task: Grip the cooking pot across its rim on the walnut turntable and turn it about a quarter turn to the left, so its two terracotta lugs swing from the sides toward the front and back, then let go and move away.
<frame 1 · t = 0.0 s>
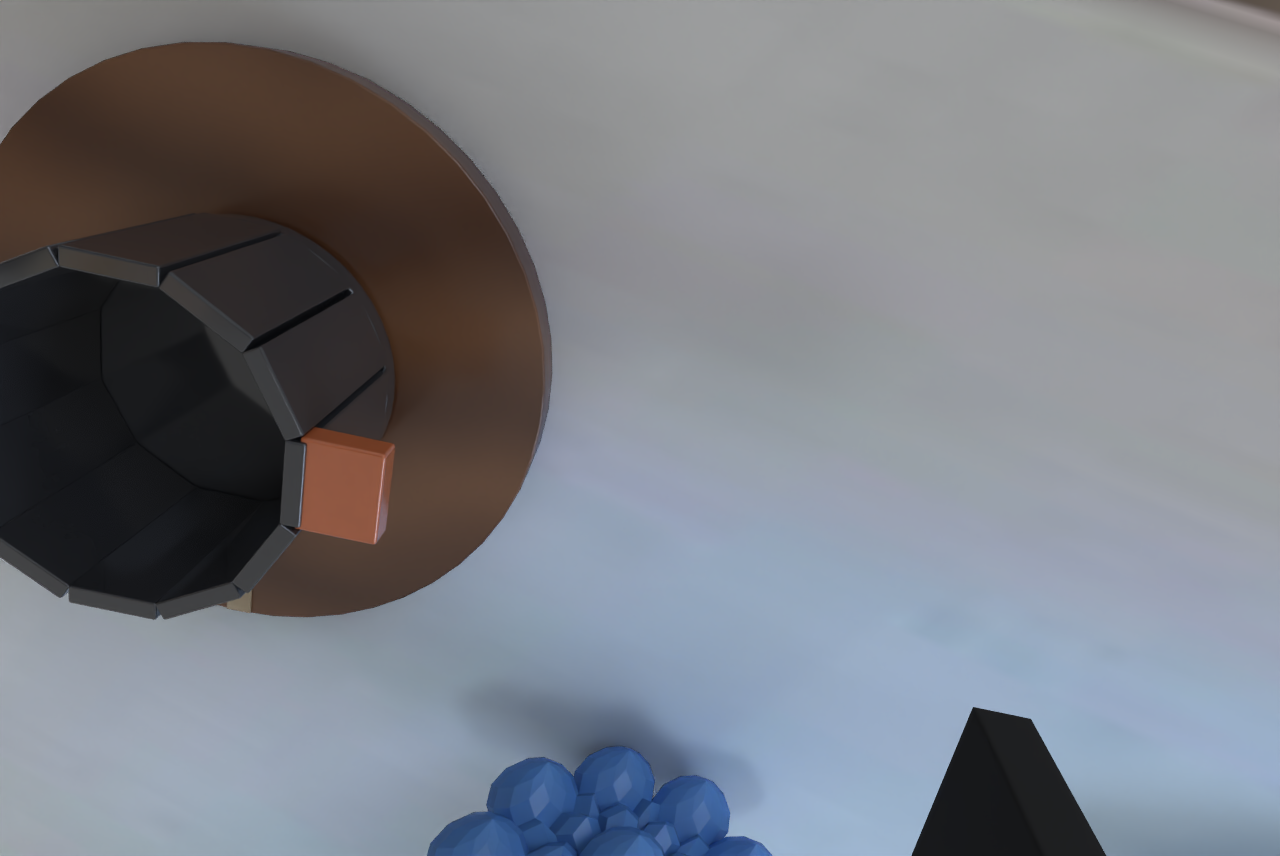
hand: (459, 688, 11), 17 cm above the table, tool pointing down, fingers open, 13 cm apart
turntable: (273, 350, 28), on the table
grapes: (617, 772, 34), on the table
cooking pot: (188, 400, 23), point 5 cm above the table, hinge at 0.0°
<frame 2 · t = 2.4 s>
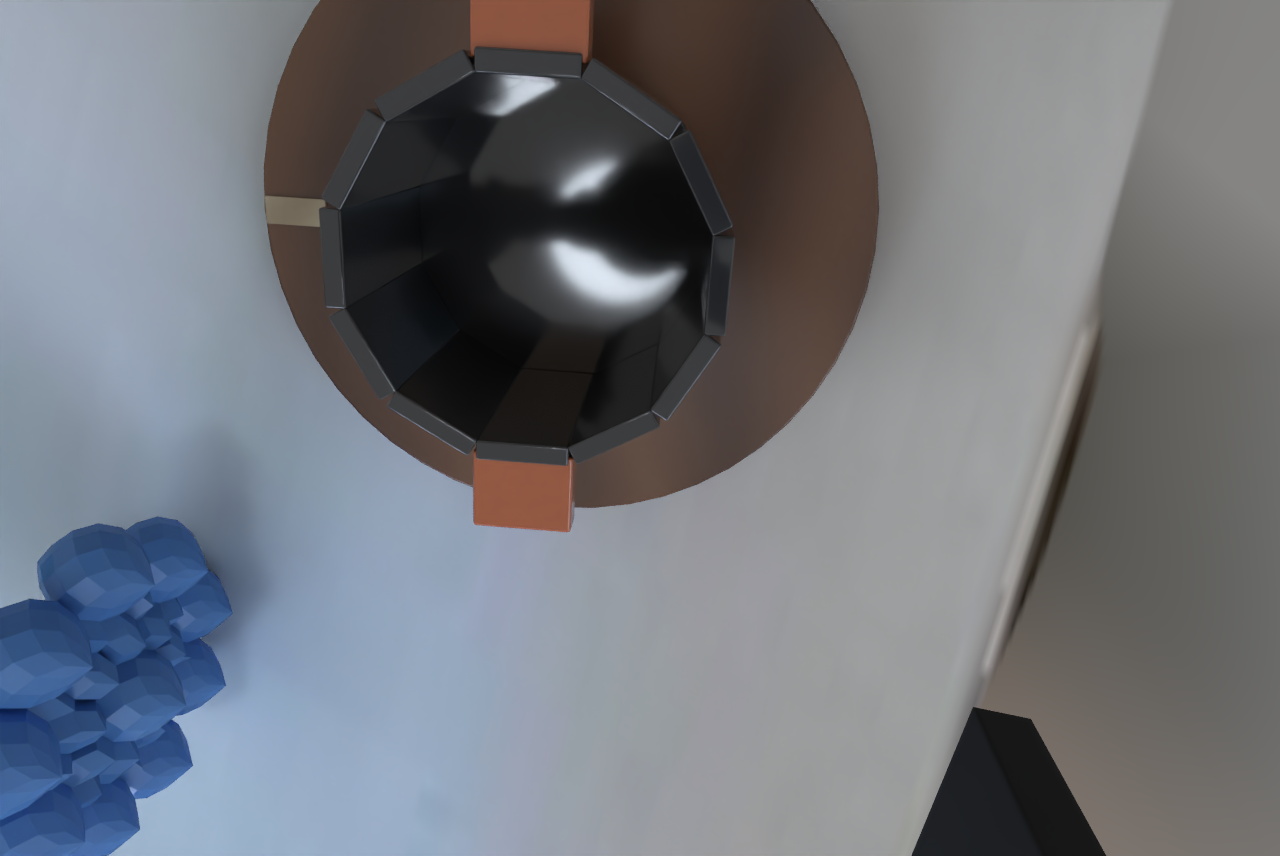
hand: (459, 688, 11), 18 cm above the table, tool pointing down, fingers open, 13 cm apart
turntable: (573, 223, 27), on the table
grapes: (185, 580, 33), on the table
cooking pot: (548, 249, 22), point 5 cm above the table, hinge at 0.0°
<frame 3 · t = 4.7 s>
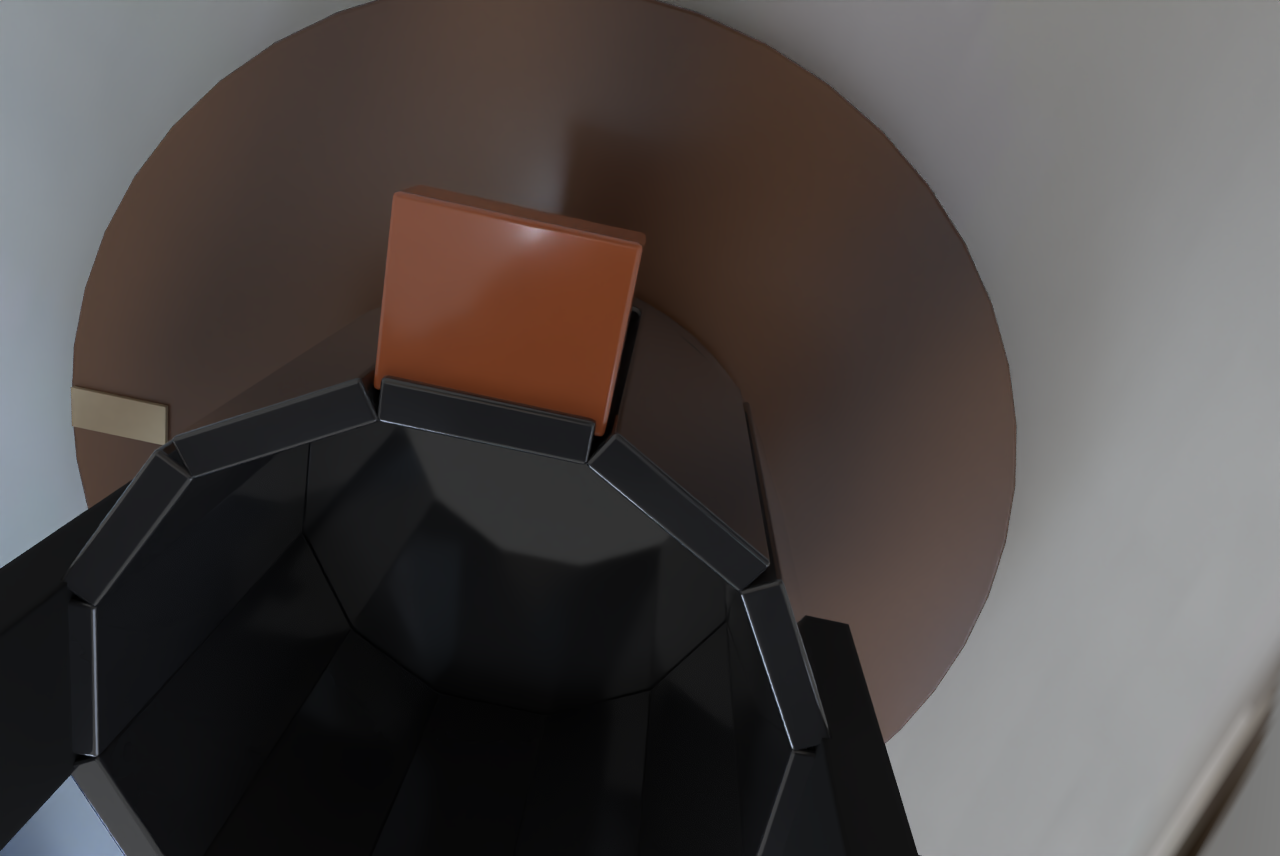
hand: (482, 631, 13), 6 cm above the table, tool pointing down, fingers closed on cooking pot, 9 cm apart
turntable: (546, 470, 18), on the table
cooking pot: (495, 601, 13), point 5 cm above the table, hinge at 0.0°, touching gripper
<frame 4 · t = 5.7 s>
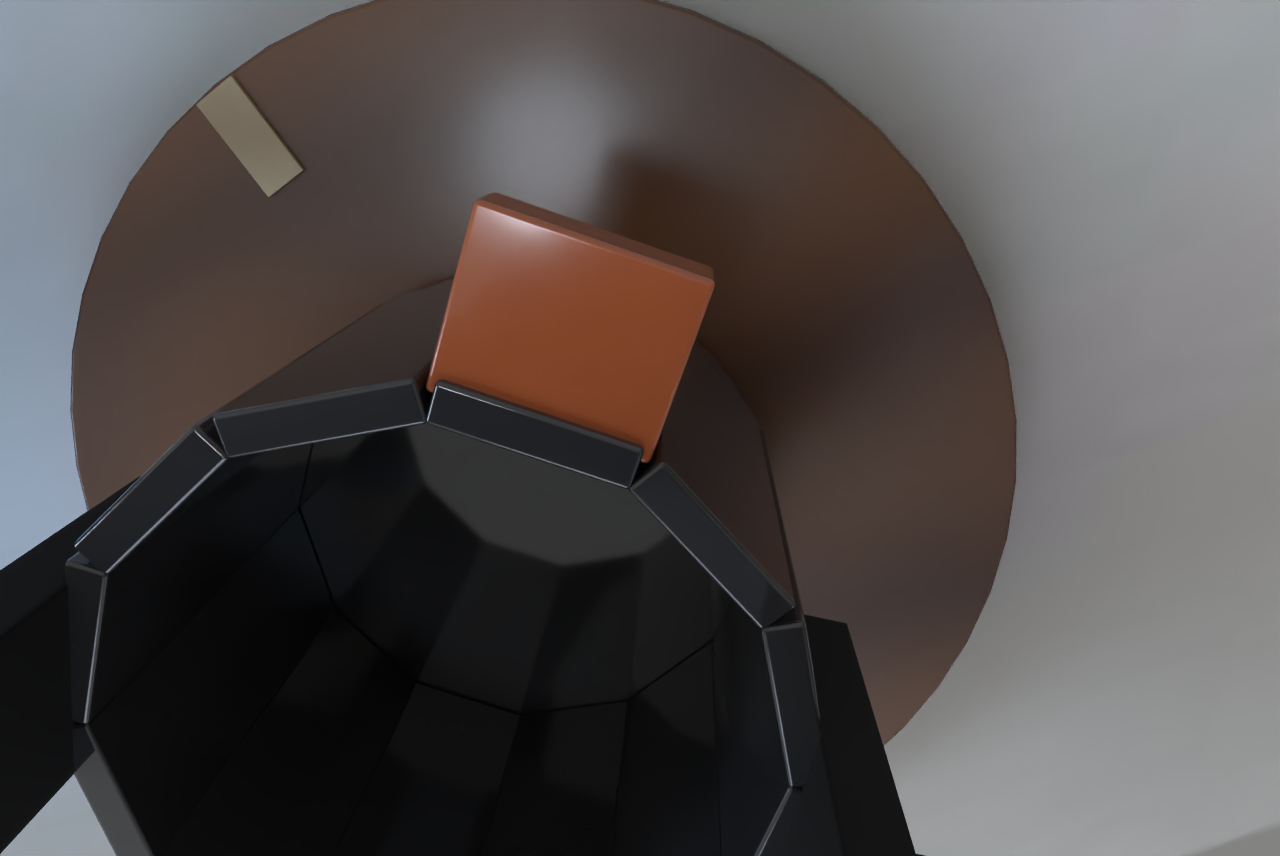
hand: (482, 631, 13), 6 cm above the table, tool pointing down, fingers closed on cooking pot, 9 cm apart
turntable: (546, 471, 18), on the table
cooking pot: (494, 602, 13), point 5 cm above the table, hinge at 37.4°, touching gripper
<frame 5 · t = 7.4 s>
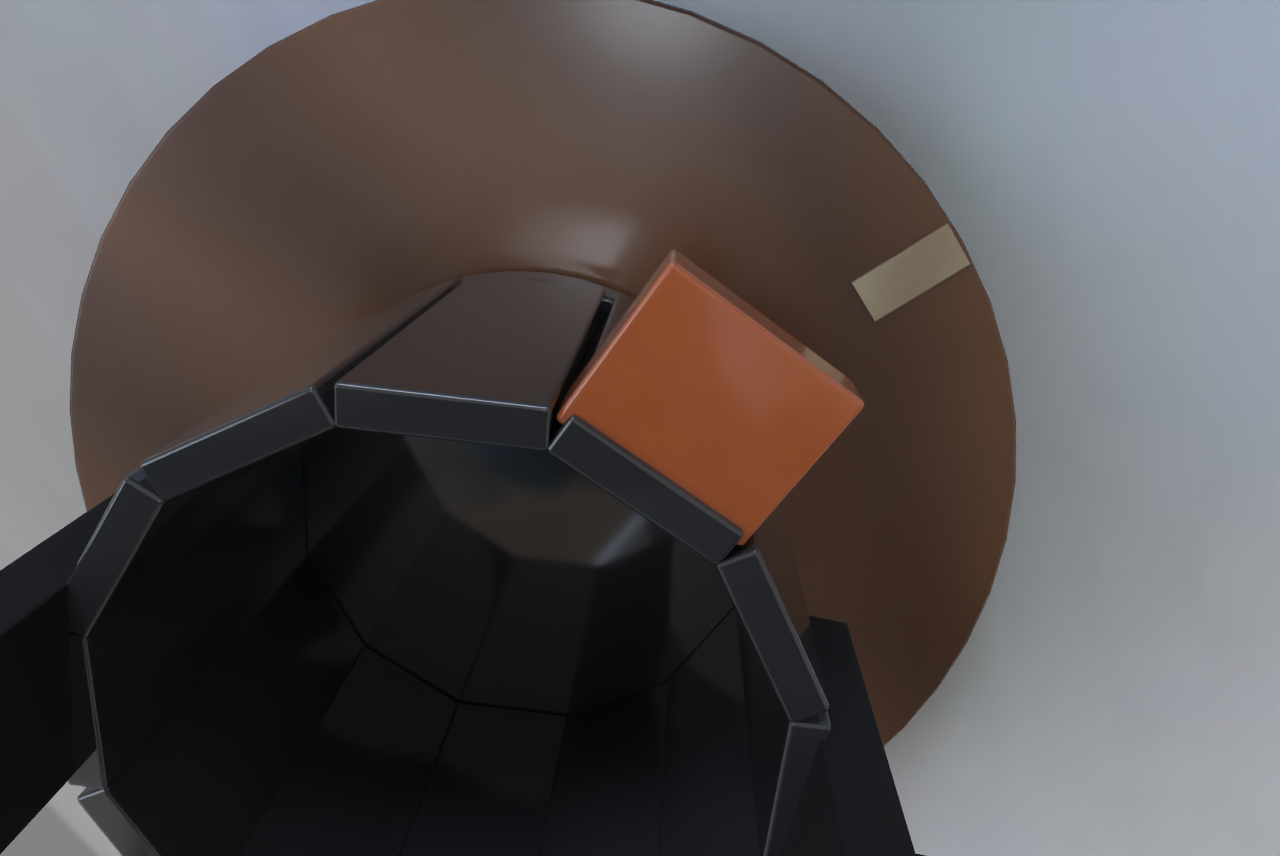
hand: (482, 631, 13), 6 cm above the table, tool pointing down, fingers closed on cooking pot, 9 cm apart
turntable: (545, 472, 18), on the table
cooking pot: (494, 603, 13), point 5 cm above the table, hinge at 110.2°, touching gripper
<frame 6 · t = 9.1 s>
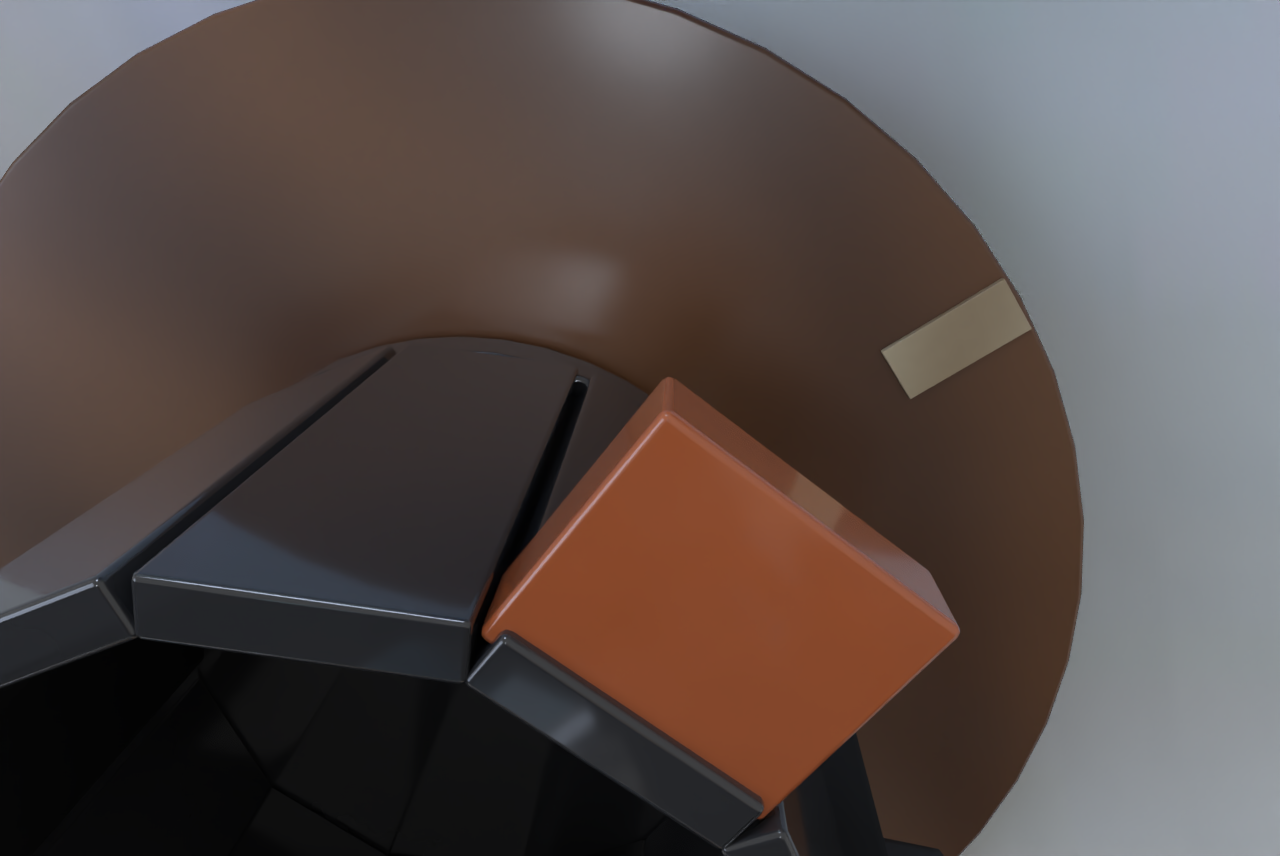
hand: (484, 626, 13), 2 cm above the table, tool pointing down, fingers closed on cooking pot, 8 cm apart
turntable: (504, 568, 15), on the table
cooking pot: (420, 780, 10), point 5 cm above the table, hinge at 108.5°, touching gripper
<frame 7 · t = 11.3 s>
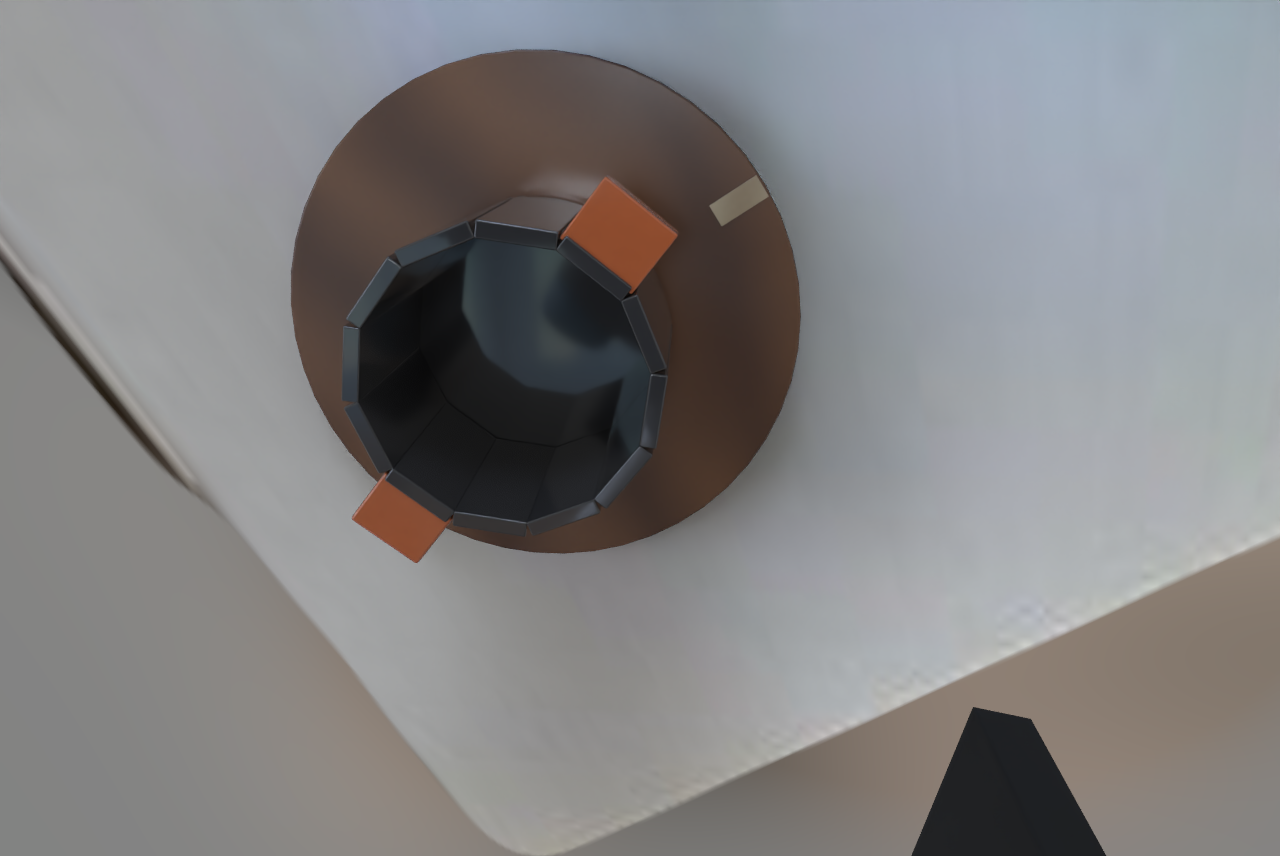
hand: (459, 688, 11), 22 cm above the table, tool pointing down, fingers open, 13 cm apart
turntable: (548, 317, 32), on the table
cooking pot: (523, 355, 28), point 5 cm above the table, hinge at 108.8°
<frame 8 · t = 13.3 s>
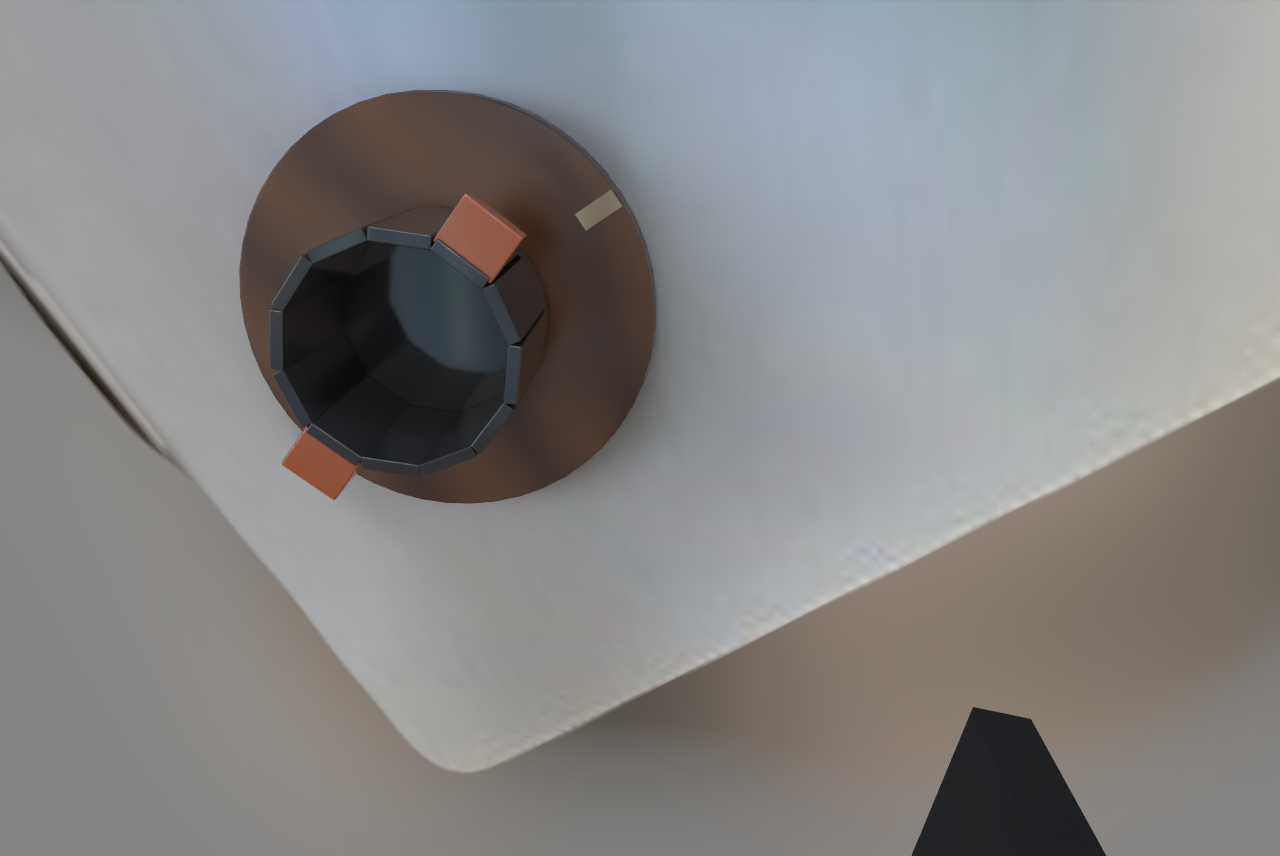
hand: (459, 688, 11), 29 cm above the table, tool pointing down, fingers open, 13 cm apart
turntable: (454, 306, 39), on the table
cooking pot: (421, 334, 34), point 5 cm above the table, hinge at 108.8°
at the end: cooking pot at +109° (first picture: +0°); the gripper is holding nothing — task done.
